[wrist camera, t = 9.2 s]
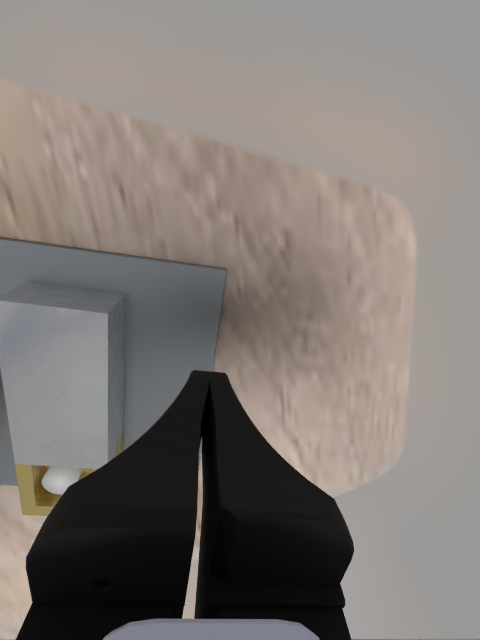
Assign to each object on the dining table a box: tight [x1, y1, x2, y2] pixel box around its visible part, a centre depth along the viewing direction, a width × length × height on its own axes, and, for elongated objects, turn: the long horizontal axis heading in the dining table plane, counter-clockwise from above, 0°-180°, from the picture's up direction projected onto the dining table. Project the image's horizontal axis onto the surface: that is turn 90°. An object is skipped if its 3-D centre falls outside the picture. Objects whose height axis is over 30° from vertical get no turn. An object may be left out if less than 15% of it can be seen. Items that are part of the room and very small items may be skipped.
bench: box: [0, 237, 227, 495], centre depth 17 cm, size 17×17×3 cm
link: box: [0, 280, 126, 516], centre depth 17 cm, size 13×5×3 cm, turn 171°
